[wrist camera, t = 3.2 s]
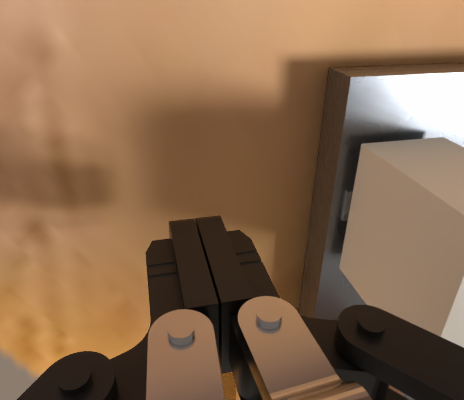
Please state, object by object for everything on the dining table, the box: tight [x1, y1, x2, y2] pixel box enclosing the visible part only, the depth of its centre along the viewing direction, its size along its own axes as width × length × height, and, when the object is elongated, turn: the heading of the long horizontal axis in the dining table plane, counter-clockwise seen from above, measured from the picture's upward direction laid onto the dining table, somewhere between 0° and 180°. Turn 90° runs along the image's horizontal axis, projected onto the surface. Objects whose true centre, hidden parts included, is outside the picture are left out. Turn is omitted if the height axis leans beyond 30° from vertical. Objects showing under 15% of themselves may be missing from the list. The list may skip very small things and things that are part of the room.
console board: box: [299, 63, 464, 400], centre depth 18 cm, size 12×20×2 cm, turn 179°
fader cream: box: [339, 137, 464, 348], centre depth 12 cm, size 3×5×5 cm, turn 179°
